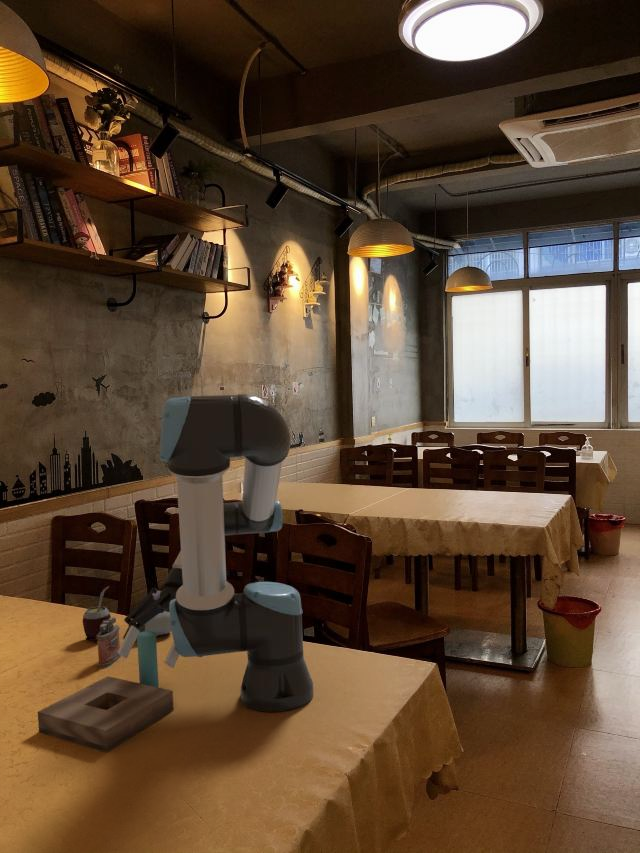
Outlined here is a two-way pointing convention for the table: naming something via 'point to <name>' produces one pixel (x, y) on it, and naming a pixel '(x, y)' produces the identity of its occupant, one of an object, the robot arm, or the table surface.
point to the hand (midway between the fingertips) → (144, 660)
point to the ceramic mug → (158, 624)
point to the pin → (147, 658)
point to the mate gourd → (95, 619)
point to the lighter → (108, 643)
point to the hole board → (105, 713)
